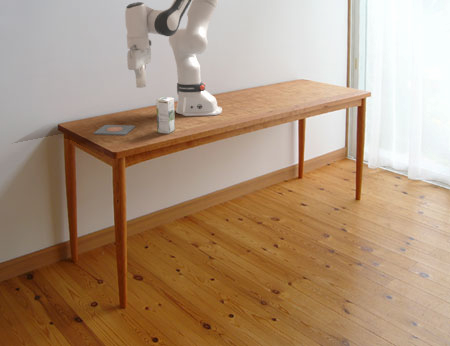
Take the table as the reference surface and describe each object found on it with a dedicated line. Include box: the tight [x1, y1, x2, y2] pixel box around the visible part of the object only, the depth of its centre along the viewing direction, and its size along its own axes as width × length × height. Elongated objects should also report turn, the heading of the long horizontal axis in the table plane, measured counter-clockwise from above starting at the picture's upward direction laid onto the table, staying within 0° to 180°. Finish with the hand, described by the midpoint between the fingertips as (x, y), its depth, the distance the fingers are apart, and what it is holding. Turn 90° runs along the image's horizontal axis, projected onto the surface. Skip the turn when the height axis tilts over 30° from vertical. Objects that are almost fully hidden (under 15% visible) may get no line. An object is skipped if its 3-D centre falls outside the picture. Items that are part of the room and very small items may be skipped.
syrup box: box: [155, 96, 176, 134], centre depth 233 cm, size 6×6×14 cm
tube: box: [135, 63, 147, 89], centre depth 232 cm, size 4×4×10 cm
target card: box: [93, 124, 136, 136], centre depth 238 cm, size 14×13×1 cm
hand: (140, 77), depth 232 cm, fingers closed on tube, 4 cm apart
